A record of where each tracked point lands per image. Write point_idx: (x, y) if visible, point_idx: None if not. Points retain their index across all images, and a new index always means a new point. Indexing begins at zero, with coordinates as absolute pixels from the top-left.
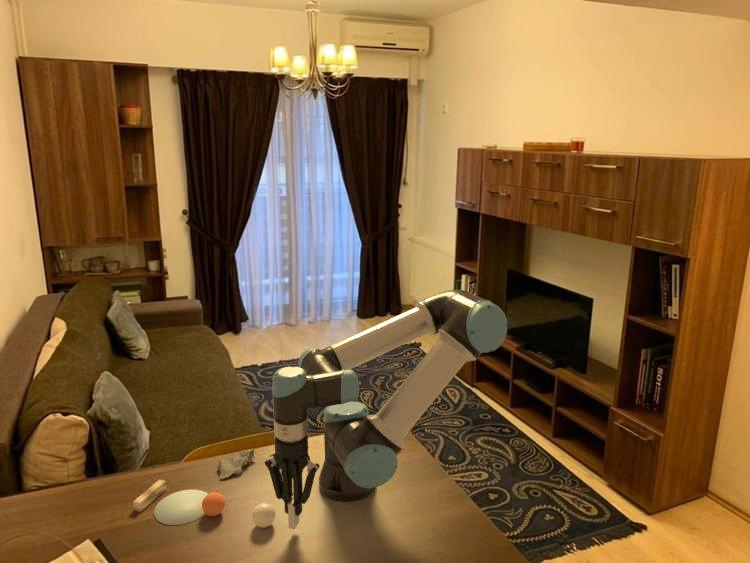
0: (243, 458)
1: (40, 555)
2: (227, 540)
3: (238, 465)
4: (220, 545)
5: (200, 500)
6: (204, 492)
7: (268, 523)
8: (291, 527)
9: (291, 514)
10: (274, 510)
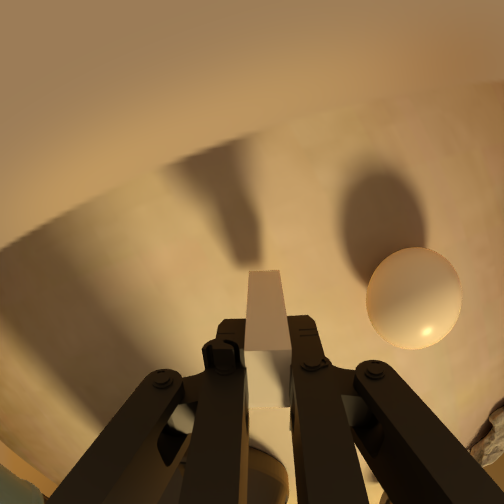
0: (493, 446)
1: None
2: (478, 165)
3: (501, 427)
4: (485, 136)
5: None
6: None
7: (380, 267)
8: (264, 273)
9: (264, 310)
10: (379, 330)
